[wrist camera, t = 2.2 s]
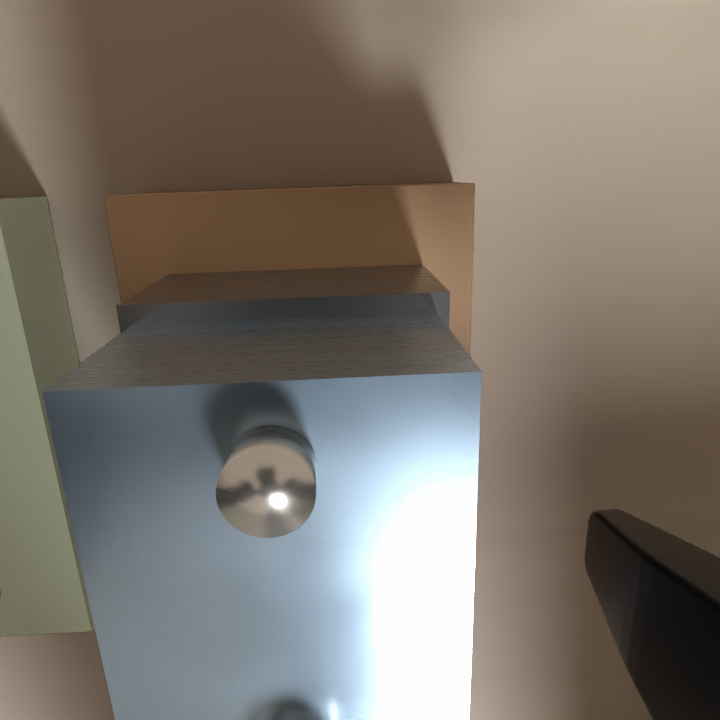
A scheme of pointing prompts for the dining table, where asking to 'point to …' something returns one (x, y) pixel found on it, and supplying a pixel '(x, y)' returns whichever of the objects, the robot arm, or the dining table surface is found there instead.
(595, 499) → the dining table surface
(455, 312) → the walnut stand
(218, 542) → the housing
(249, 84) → the dining table surface
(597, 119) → the dining table surface
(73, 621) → the green stand
